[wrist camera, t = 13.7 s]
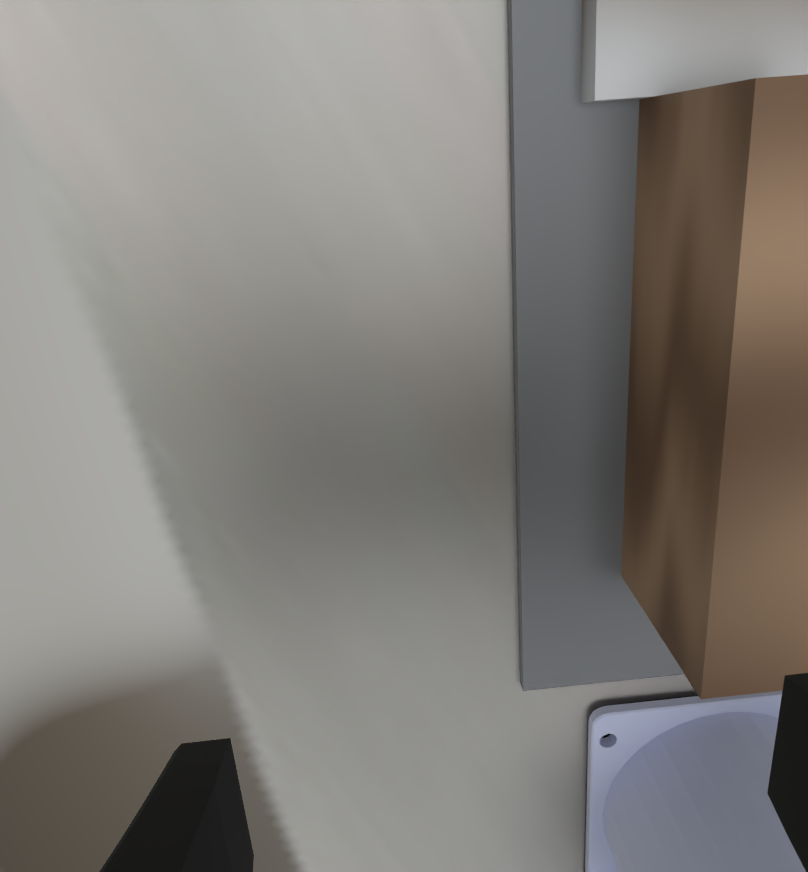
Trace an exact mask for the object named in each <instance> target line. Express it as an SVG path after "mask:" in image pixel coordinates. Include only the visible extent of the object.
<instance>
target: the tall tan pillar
mask: <svg viewBox="0 0 808 872" xmlns="http://www.w3.org/2000/svg"><path fill="white" fill-rule="evenodd" d="M637 99H639V125H638V151H637V177H636V203H635V229H634V255H633V281H632V307H631V333H630V359H629V385H628V411H627V437H626V463H625V489H624V515H623V541H622V567H621V576H622V578H623V579H624V581H625V582H626V584H627V585H628V587H629V588H630V590H631V592H632V593H633V595H634V596H635V598H636V599H637V601H638V602H639V604H640V606H641V607H642V609H643V610H644V612H645V613H646V615H647V616H648V618H649V620H650V621H651V623H652V624H653V626H654V627H655V629H656V630H657V632H658V634H659V635H660V637H661V638H662V640H663V641H664V643H665V644H666V646H667V647H668V649H669V651H670V652H671V654H672V655H673V657H674V658H675V660H676V661H677V663H678V665H679V666H680V668H681V669H682V671H683V672H684V674H685V675H686V677H687V679H688V680H689V682H690V683H691V685H692V686H693V688H694V689H695V691H696V692H697V694H698V696H699V697H700V699H709V698H718V697H727V696H737V695H746V694H756V693H765V692H774V691H782V690H783V684H784V677H785V675H792V674H801V673H808V0H582V38H581V104H582V103H596V102H609V101H623V100H637Z"/></svg>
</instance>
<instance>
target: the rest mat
mask: <svg viewBox="0 0 808 872" xmlns="http://www.w3.org/2000/svg"><path fill="white" fill-rule="evenodd" d="M508 35H509V90H510V145H511V200H512V255H513V310H514V365H515V420H516V475H517V530H518V585H519V640H520V682H521V686H522V689H523V691H526V690H536V689H545V688H555V687H564V686H574V685H584V684H593V683H603V682H612V681H622V680H631V679H641V678H650V677H660V676H669V675H679V674H684V672H683V671H682V669H681V668H680V666H679V665H678V663H677V661H676V660H675V658H674V657H673V655H672V654H671V652H670V651H669V649H668V647H667V646H666V644H665V643H664V641H663V640H662V638H661V637H660V635H659V634H658V632H657V630H656V629H655V627H654V626H653V624H652V623H651V621H650V620H649V618H648V616H647V615H646V613H645V612H644V610H643V609H642V607H641V606H640V604H639V602H638V601H637V599H636V598H635V596H634V595H633V593H632V592H631V590H630V588H629V587H628V585H627V584H626V582H625V581H624V579H623V578H622V576H621V567H622V541H623V515H624V489H625V463H626V437H627V411H628V385H629V359H630V333H631V307H632V281H633V255H634V229H635V203H636V177H637V151H638V125H639V99H637V100H623V101H609V102H596V103H582V104H581V38H582V0H508Z"/></svg>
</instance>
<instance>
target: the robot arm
mask: <svg viewBox="0 0 808 872" xmlns="http://www.w3.org/2000/svg"><path fill="white" fill-rule="evenodd" d="M606 734H611V735H610V736H608V737H606V738H601V737H602V736H604V735H606ZM253 857H254V855H253V850H252V845H251V840H250V835H249V830H248V825H247V820H246V815H245V810H244V805H243V800H242V795H241V790H240V785H239V780H238V775H237V770H236V765H235V760H234V755H233V750H232V745H231V740H230V738H228V739H220V740H210V741H203V742H202V741H201V742H192V743H184V744H181V745H180V746H179V747H178V748H177V749H176V750H175V751H174V753H173V755H172V756H171V758H170V760H169V761H168V763H167V765H166V767H165V768H164V770H163V772H162V773H161V775H160V777H159V778H158V780H157V782H156V783H155V785H154V787H153V788H152V790H151V792H150V793H149V795H148V797H147V798H146V800H145V801H144V803H143V805H142V807H141V808H140V810H139V811H138V813H137V814H136V816H135V818H134V819H133V821H132V822H131V824H130V826H129V827H128V829H127V830H126V832H125V833H124V835H123V837H122V838H121V840H120V841H119V843H118V845H117V846H116V848H115V849H114V851H113V853H112V854H111V856H110V857H109V858H108V860H107V861H106V863H105V864H104V866H103V867H102V869H101V870H100V872H253ZM585 872H808V673H801V674H792V675H785V677H784V684H783V690H782V691H774V692H765V693H756V694H746V695H737V696H727V697H718V698H709V699H700V697H699V696H694V697H684V698H675V699H666V700H656V701H647V702H637V703H628V704H619V705H609V706H603V707H599V708H598V709H596V710H594V711H593V712H592V714H591V715H590V717H589V724H588V769H587V814H586V858H585Z"/></svg>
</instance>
